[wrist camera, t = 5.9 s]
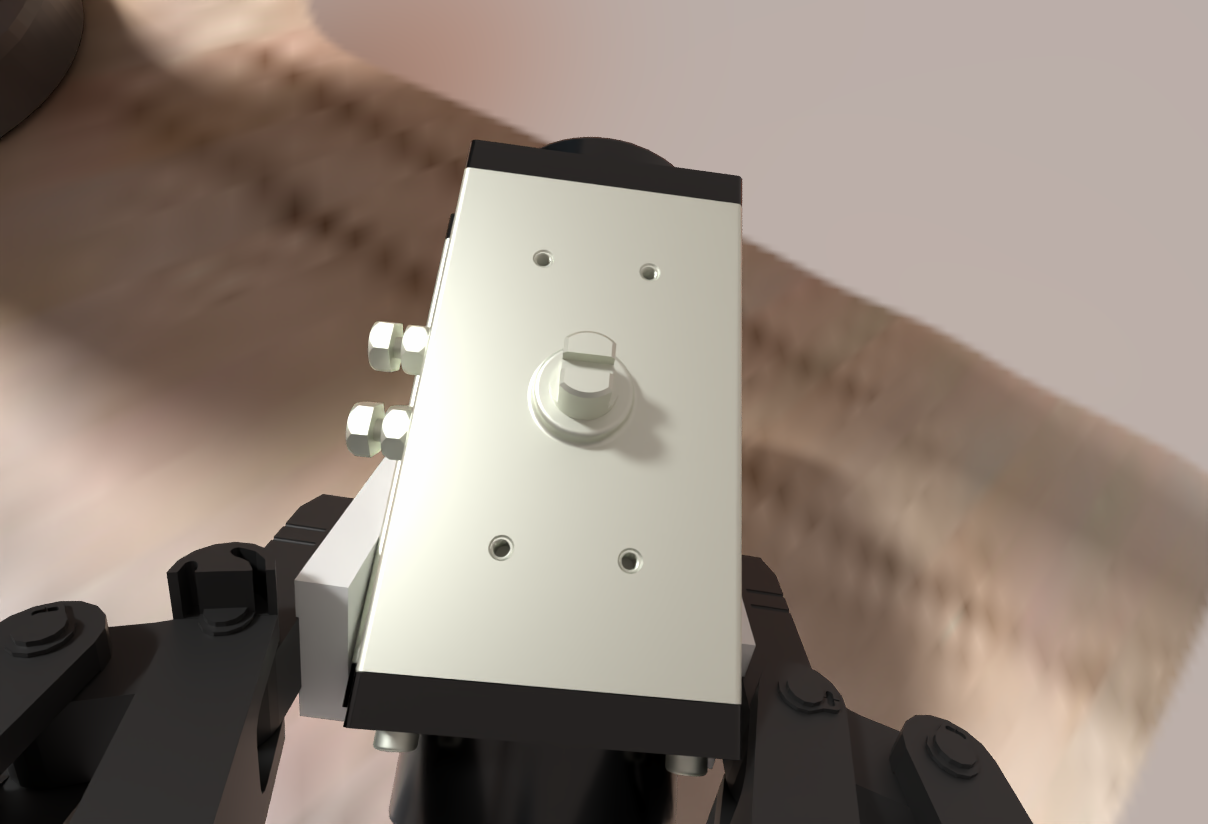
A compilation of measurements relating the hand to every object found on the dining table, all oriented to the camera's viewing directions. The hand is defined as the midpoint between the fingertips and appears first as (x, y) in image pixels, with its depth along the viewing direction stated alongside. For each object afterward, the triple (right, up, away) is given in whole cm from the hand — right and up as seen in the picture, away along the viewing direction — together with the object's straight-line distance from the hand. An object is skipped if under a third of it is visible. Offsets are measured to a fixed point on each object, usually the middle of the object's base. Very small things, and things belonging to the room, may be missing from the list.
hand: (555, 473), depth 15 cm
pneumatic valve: (-1, -2, +4) cm, 4 cm away
